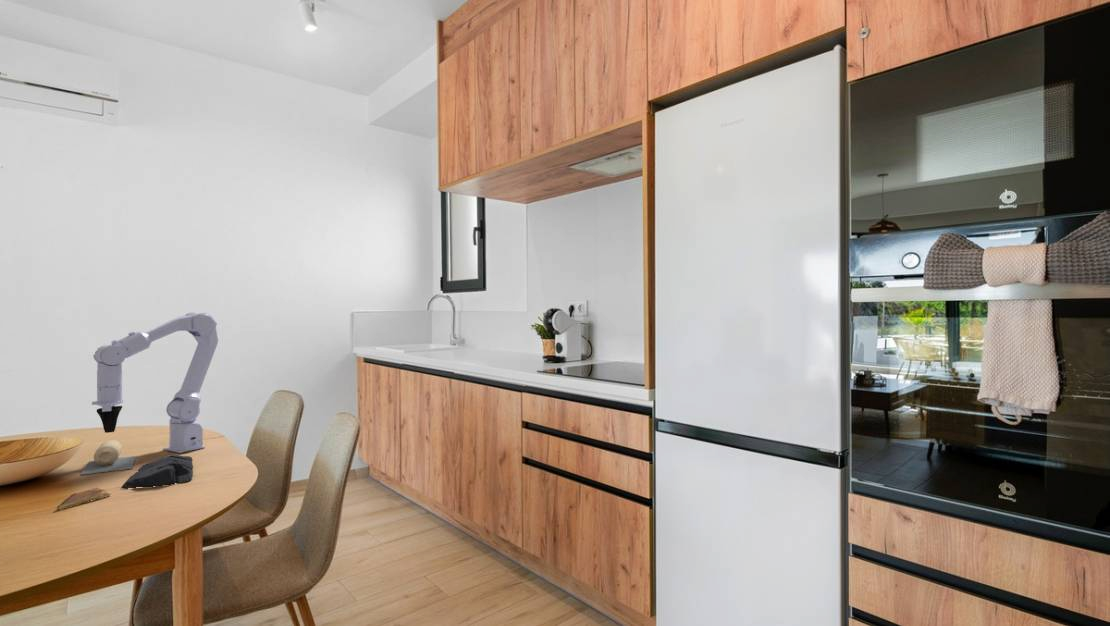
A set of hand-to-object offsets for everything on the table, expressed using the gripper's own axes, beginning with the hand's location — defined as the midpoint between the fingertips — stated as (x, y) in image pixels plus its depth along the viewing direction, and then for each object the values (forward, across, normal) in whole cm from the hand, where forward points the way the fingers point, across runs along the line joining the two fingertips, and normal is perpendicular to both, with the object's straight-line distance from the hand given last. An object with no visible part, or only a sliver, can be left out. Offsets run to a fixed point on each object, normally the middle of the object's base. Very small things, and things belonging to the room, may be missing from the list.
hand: (109, 431), depth 162 cm
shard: (+10, +37, -1) cm, 38 cm away
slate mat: (+9, +5, 0) cm, 10 cm away
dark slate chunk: (+10, +23, +14) cm, 28 cm away
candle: (+6, -4, 0) cm, 7 cm away
